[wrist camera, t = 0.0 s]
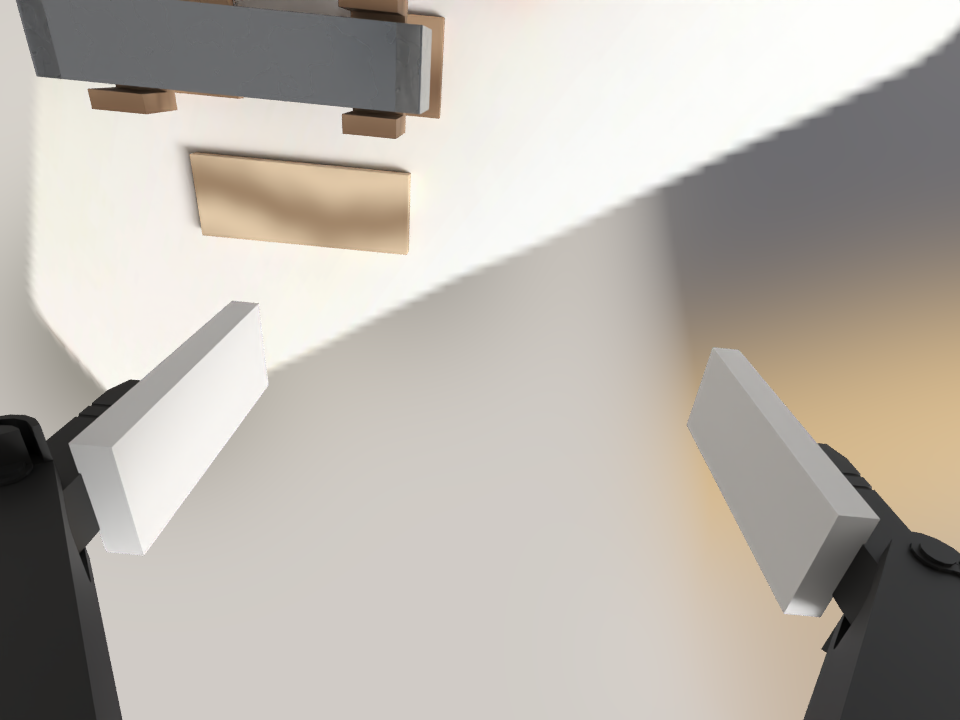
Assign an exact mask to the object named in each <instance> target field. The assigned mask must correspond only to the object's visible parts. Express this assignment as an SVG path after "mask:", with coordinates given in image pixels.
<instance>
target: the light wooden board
mask: <svg viewBox="0 0 960 720" xmlns="http://www.w3.org/2000/svg"><path fill="white" fill-rule="evenodd" d="M190 160H191V167H192V173H193V179H194V185H195V191H196V197H197V204H198V210H199V216H200V222H201V228H202V234H203V235H206V236H216V237H227V238H237V239H247V240H258V241H268V242H278V243H289V244H299V245H309V246H320V247H330V248H341V249H351V250H361V251H372V252H382V253H392V254H403V255H407V253H408V251H409V217H410V177H411V173H403V172H393V171H383V170H373V169H363V168H353V167H342V166H332V165H322V164H312V163H302V162H291V161H281V160H271V159H261V158H251V157H240V156H230V155H220V154H210V153H200V152H195V153H192V154H190Z"/></svg>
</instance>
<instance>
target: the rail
mask: <svg viewBox="0 0 960 720" xmlns="http://www.w3.org/2000/svg"><path fill="white" fill-rule="evenodd" d="M16 2H17V6H18V10H19V13H20V17H21V21H22V24H23V27H24V32H25V35H26V39H27V42H28V46H29V50H30V54H31V57H32V61H33V64H34V68H35V72H36V75H37V76H38V77H48V78H58V79H68V80H78V81H89V82H99V83H109V84H119V85H129V86H139V87H149V88H159V89H169V90H179V91H189V92H199V93H209V94H219V95H229V96H239V97H250V98H260V99H270V100H280V101H290V102H300V103H310V104H320V105H330V106H340V107H350V108H360V109H370V110H380V111H390V112H400V113H410V114H421V113H423V112H425V111H427V110H428V109H429V95H430V69H431V43H432V30H431V29H429V28H427V27H425V26H424V25H417V24H407V23H397V22H387V21H378V20H368V19H358V18H348V17H338V16H328V15H318V14H308V13H299V12H289V11H279V10H269V9H259V8H249V7H239V6H229V5H219V4H210V3H200V2H190V1H180V0H16Z"/></svg>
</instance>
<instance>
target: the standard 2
mask: <svg viewBox="0 0 960 720" xmlns="http://www.w3.org/2000/svg"><path fill="white" fill-rule="evenodd" d="M338 5H339V7H341V8H344V9H347V10H349V11H351V18H358V19H368V20H378V21H387V22H397V23H407V24H417V25H424V26H425V27H427V28H429V29H431V30H432V43H431V69H430V95H429V109H428V110H427V111H425V112H423V113H421V114H410V113H400V112H390V111H380V110H370V109H360V108H353V111H351V112H347V113H344V114H342V129H343V134H352V135H362V136H372V137H382V138H393V139H396V138H398V137H399V136H401V135H402V134H404V133H405V117H406V115H408V116H418V117H428V118H438V119H439V118H440V108H441V87H442V66H443V45H444V24H445V18H444V17H434V16H424V15H414V14H408V0H338Z"/></svg>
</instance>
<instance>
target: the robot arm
mask: <svg viewBox="0 0 960 720" xmlns="http://www.w3.org/2000/svg"><path fill="white" fill-rule="evenodd" d="M267 387H268V378H267V369H266V360H265V352H264V343H263V335H262V326H261V317H260V309H259V303H249V302H239V301H231V302H230V303H229V304H228V305H227V306H226V307H224V308H223V309H222V310H221V311H220V312H219V313H218V314H216V315H215V316H214V317H213V318H212V319H211V320H210V321H208V322H207V323H206V324H205V325H204V326H203V327H202V328H200V329H199V330H198V331H197V332H196V333H195V334H193V335H192V336H191V337H190V338H189V339H188V340H187V341H185V342H184V343H183V344H182V345H181V346H180V347H179V348H177V349H176V350H175V351H174V352H173V353H172V354H171V355H169V356H168V357H167V358H166V359H165V360H164V361H162V362H161V363H160V364H159V365H158V366H157V367H156V368H154V369H153V370H152V371H151V372H150V373H149V374H148V375H146V376H145V377H144V378H143V379H142V380H141V381H140V380H128V381H126V382H124V383H122V384H120V385H118V386H116V387H113V388H111V389H109V390H107V391H106V392H105V393H104V394H102V395H101V396H100V397H99V398H98V399H96V400H95V401H94V402H93V403H92V406H88V407H87V408H86V409H84V410H83V411H82V412H81V413H79V416H78V417H74V418H73V419H72V420H71V421H70V422H68V423H67V424H66V425H65V426H64V427H62V428H61V429H60V430H59V431H58V432H56V433H55V434H54V435H53V436H51V437H50V438H49V439H48V440H47V441H46V440H45V437H44V434H43V432H42V429H41V426H40V424H39V423H38V421H37V420H36V419H35V418H32V417H29V416H26V415H5V416H0V720H122V716H121V711H120V706H119V701H118V696H117V691H116V686H115V681H114V676H113V671H112V666H111V661H110V657H109V652H108V647H107V642H106V637H105V632H104V627H103V622H102V617H101V612H100V607H99V602H98V597H97V593H96V588H95V583H94V578H93V573H92V568H91V563H90V558H89V555H88V553H87V550H86V547H85V546H86V545H87V544H88V543H89V542H90V541H91V540H92V538H93V537H94V536H95V535H96V534H97V533H98V531H99V533H100V536H101V538H102V542H103V545H104V548H105V550H106V552H112V553H122V554H133V555H145V553H146V552H147V551H148V549H149V548H150V547H151V545H152V544H153V542H154V541H155V539H156V538H157V537H158V535H159V534H160V533H161V532H162V530H163V529H164V527H165V526H166V524H167V523H168V522H169V521H170V519H171V518H172V516H173V515H174V514H175V512H176V511H177V510H178V508H179V507H180V505H181V504H182V503H183V501H184V500H185V499H186V497H187V496H188V495H189V493H190V492H191V490H192V489H193V488H194V486H195V485H196V484H197V482H198V481H199V480H200V478H201V477H202V475H203V474H204V472H205V471H206V470H207V469H208V467H209V466H210V464H211V463H212V462H213V460H214V459H215V458H216V456H217V455H218V454H219V452H220V451H221V449H222V448H223V447H224V445H225V444H226V443H227V441H228V440H229V438H230V437H231V436H232V434H233V433H234V432H235V430H236V429H237V428H238V426H239V425H240V423H241V422H242V421H243V419H244V418H245V417H246V415H247V414H248V412H249V411H250V410H251V408H252V407H253V406H254V404H255V403H256V402H257V400H258V399H259V397H260V396H261V395H262V393H263V392H264V391H265V389H266V388H267ZM687 427H688V428H689V430H690V432H691V434H692V436H693V438H694V440H695V442H696V444H697V446H698V448H699V450H700V452H701V454H702V456H703V458H704V460H705V461H706V464H707V465H708V467H709V469H710V471H711V473H712V475H713V477H714V479H715V481H716V483H717V485H718V487H719V489H720V491H721V492H722V495H723V496H724V499H725V500H726V502H727V504H728V506H729V508H730V510H731V512H732V514H733V516H734V518H735V520H736V522H737V524H738V526H739V528H740V530H741V531H742V533H743V535H744V537H745V539H746V541H747V543H748V545H749V547H750V549H751V551H752V553H753V555H754V557H755V559H756V561H757V562H758V564H759V566H760V568H761V570H762V572H763V574H764V576H765V578H766V580H767V582H768V584H769V586H770V588H771V590H772V592H773V594H774V596H775V598H776V599H777V601H778V603H779V605H780V607H781V609H782V611H783V613H784V614H792V615H803V616H815V617H821V616H822V614H823V612H824V611H825V609H826V607H827V606H828V604H829V603H830V601H831V599H832V598H833V597H834V599H835V601H836V602H837V604H838V605H839V607H840V609H841V610H842V612H843V613H844V614H843V616H842V617H841V619H840V621H839V622H838V624H837V625H836V627H835V628H834V630H833V632H832V633H831V635H830V637H829V638H828V639H827V641H826V642H825V644H824V646H823V647H822V650H823V651H825V652H827V654H826V657H825V660H824V662H823V665H822V668H821V671H820V674H819V677H818V679H817V682H816V685H815V688H814V691H813V694H812V697H811V700H810V703H809V705H808V709H807V711H806V714H805V717H804V720H960V553H958V552H957V551H956V550H955V549H954V548H952V547H950V546H948V545H947V544H945V543H943V542H941V541H940V540H938V539H935V538H933V537H930V536H927V535H924V534H922V533H917V532H911V531H910V530H909V529H908V528H907V526H906V525H905V524H904V523H903V522H902V521H901V520H900V519H899V517H898V516H897V515H896V514H895V513H894V512H893V511H892V509H891V508H890V507H889V506H888V505H887V504H886V503H885V502H884V501H883V499H882V498H881V497H880V496H879V495H878V494H877V492H876V491H875V490H872V487H871V486H870V484H869V483H868V482H867V481H866V480H865V479H864V478H863V477H860V473H859V472H858V471H857V470H856V468H855V467H854V466H853V465H852V464H851V463H850V462H849V461H848V459H847V458H845V457H844V456H842V455H841V454H840V453H838V452H837V451H835V450H834V449H833V448H831V447H830V446H828V445H827V444H820V443H816V442H815V440H814V439H813V438H812V437H811V436H810V434H809V433H808V432H807V431H806V430H805V428H804V427H803V426H802V425H801V424H800V422H799V421H798V420H797V419H796V418H795V416H794V415H793V414H792V413H791V412H790V410H789V409H788V408H787V407H786V406H785V405H784V403H783V402H782V401H781V400H780V398H779V397H778V396H777V395H776V394H775V393H774V391H773V390H772V389H771V388H770V387H769V385H768V384H767V383H766V382H765V380H764V379H763V378H762V377H761V376H760V374H759V373H758V372H757V371H756V370H755V369H754V368H753V366H752V365H751V364H750V363H749V361H748V360H747V359H746V358H745V357H744V355H743V354H742V353H741V352H740V351H739V350H735V349H734V350H733V349H724V348H712V351H711V354H710V357H709V360H708V364H707V366H706V369H705V372H704V375H703V378H702V381H701V384H700V387H699V390H698V393H697V396H696V399H695V402H694V405H693V408H692V411H691V414H690V417H689V420H688V423H687Z"/></svg>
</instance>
